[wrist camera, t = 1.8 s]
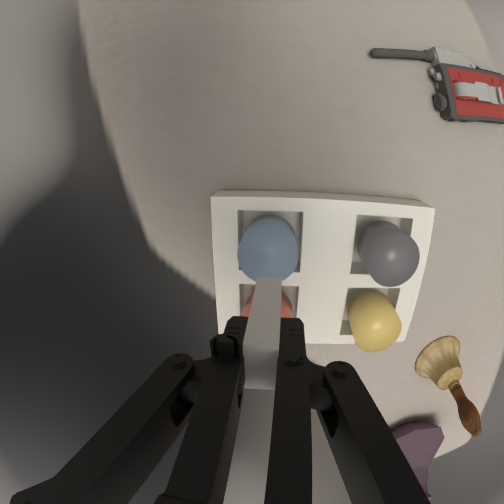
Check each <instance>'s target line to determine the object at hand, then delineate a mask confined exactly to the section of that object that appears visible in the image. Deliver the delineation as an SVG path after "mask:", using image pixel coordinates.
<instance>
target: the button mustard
mask: <svg viewBox="0 0 504 504" xmlns="http://www.w3.org/2000/svg"><path fill="white" fill-rule="evenodd" d="M347 316H348V320H349V324H350V327H351V330H352V334H353V337H354V340H355V343H356V345H357V346H358V347H359V348H360V349H361V350H363V351H366V352H378V351H381V350H384V349H386V348H388V347H389V346H391V345H392V344H393V343H394V342H395V341H396V340H397V339H398V337H399V335H400V333H401V329H402V323H401V320H400V318H399V316H398V314H397V313H396V311H395V309H394V307H393V306H392V304H391V302H390V301H389V299H388V297H387V296H386V295H385V294H383V293H382V292H379V291H368V292H365V293H362V294H360V295H359V296H357V297H356V298H355V299H354V300H353V301H352V302H351V304H350V306H349V308H348V313H347Z"/></svg>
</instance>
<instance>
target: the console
mask: <svg viewBox="0 0 504 504" xmlns="http://www.w3.org/2000/svg"><path fill="white" fill-rule="evenodd" d="M434 214H435V208H434V207H432V206H430V205H428V204H426V203H423V202H421V201H419V200H411V199H401V198H391V197H380V196H368V195H354V194H339V193H321V192H299V191H264V190H220V191H218V192H217V193H215V194H214V195H212V196H211V221H212V242H213V260H214V276H215V291H216V305H217V318H218V331H219V334H223V333H224V329H225V326H226V323H227V321H228V320H229V319H230V318H231V317H232V316H242V315H243V311H244V307H245V303H246V300H247V299H248V297H249V296H250V295H251V294H252V293H253V292H254V291H255V286H256V282H255V281H253V280H252V279H250V278H249V277H247V276H246V275H245V274H244V273H243V271H242V270H241V268H240V266H239V263H238V259H237V251H238V247H239V244H240V242H241V240H242V238H243V235H244V233H245V231H246V229H247V227H248V226H249V225H250V223H251V222H253V221H254V220H255V219H257V218H259V217H262V216H267V215H272V216H278V217H280V218H282V219H284V220H286V221H287V222H288V223H289V224H290V225H291V226H292V228H293V229H294V231H295V234H296V239H297V248H298V262H297V266H296V268H295V270H294V271H293V273H292V274H291V275H290V276H289V277H288V278H286V279H285V280H283V281H282V292H283V293H284V294H285V295H287V297H288V298H289V299H290V301H291V304H292V318H300V319H301V321H302V322H303V323H304V333H305V343H310V344H354V343H355V340H354V337H353V334H352V330H351V327H350V324H349V320H348V316H347V313H348V308H349V306H350V304H351V302H352V301H353V300H354V299H355V298H356V297H357V296H359V295H360V294H362V293H365V292H368V291H379V292H382V293H383V294H385V295H386V296H387V297H388V299H389V301H390V302H391V304H392V306H393V307H394V309H395V311H396V313H397V314H398V316H399V318H400V320H401V323H402V329H401V333H400V335H399V337H398V339H397V340H396V341H395V342H403V341H404V340H405V337H406V334H407V331H408V328H409V325H410V322H411V319H412V315H413V312H414V308H415V305H416V301H417V298H418V294H419V290H420V286H421V282H422V278H423V274H424V269H425V265H426V260H427V255H428V250H429V245H430V239H431V234H432V228H433V221H434ZM378 221H389V222H391V223H393V224H395V225H396V226H398V227H399V228H400V229H401V230H403V231H404V232H405V233H406V234H408V235H409V236H410V237H411V238H412V239H413V240H414V241H415V242H416V244H417V246H418V248H419V253H420V259H419V264H418V267H417V269H416V271H415V273H414V274H413V276H412V277H411V278H410V279H409V280H408V281H406V282H405V283H403V284H401V285H399V286H395V287H385V286H381V285H379V284H378V283H376V282H375V281H374V280H373V278H372V277H371V275H370V274H369V272H368V270H367V269H366V267H365V265H364V264H363V262H362V260H361V259H360V257H359V254H358V241H359V238H360V236H361V234H362V232H363V231H364V230H365V229H366V228H367V227H368V226H369V225H371V224H372V223H375V222H378Z"/></svg>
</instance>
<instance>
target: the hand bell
mask: <svg viewBox="0 0 504 504" xmlns="http://www.w3.org/2000/svg"><path fill="white" fill-rule="evenodd" d="M459 352H460V343H459V341H458V339H457V338H455V337H453V336H445V337H441V338H439V339H437V340H435V341H433V342H432V343H430V344H429V345H428V346H427V347H426V348H425V349H424V350H423V351H422V352H421V354H420V355H419V357H418V359H417V361H416V364H415V370H416V373H417V374H418V375H419V376H421V377H424V378H430V379H431V380H432V381H433V382H434V383H435V384H436V385H437V387H438V388H439V389H441V390H446V389H449V390H450V392H451V393H452V395H453V397H454V399H455V400H456V402H457V405H458V413H459V417H460V420H461V422H462V425H463V426H464V428H465V429H466V430H467V431H468V432H469V433H470V434H471V435H472V436H473V437H476V436H478V435H479V434H480V433H481V431H482V430H481V421H480V415H479V413H478V411H477V409H476V407H475V406H474V404H473V403H472V402H471V401H470V400H468V399H467V397H466V396H465V394H464V391H463V389H462V388H461V385H460V383H459V380H460V379H461V377H462V374H463V370H462V368H461V365H460V363H459V359H458V355H459Z"/></svg>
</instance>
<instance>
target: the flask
mask: <svg viewBox="0 0 504 504" xmlns="http://www.w3.org/2000/svg"><path fill="white" fill-rule="evenodd" d="M391 432H392V434H393V436H394V437H395V439H396V441H397V443H398V445H399V446H400V448H401V450H402V452H403V453H404V455H405V457H406V459H407V461H408V462H409V464H410V466H411V468H412V470H413V472H414V473H415V475H416V477H417V479H418V481H419V483H420V485H421V486H422V488H423V490H424V492H425V494H426V496H427V498H428V500H429V501H431V500H432V498H433V497H432V496H431V495H430V494H428V489H427V479H428V468H429V466H430V464H431V462H432V460H433V458H434V456H435V454H436V452H437V450H438V449H439V447H440V445H441V443H442V441H443V440H444V435H443V432H442V429H441V427H438V426H435V425H431V424H427V423H424V422H412V423H406V424H404V425H402V426H400V427H397V428H395V429H393V430H391Z"/></svg>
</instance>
